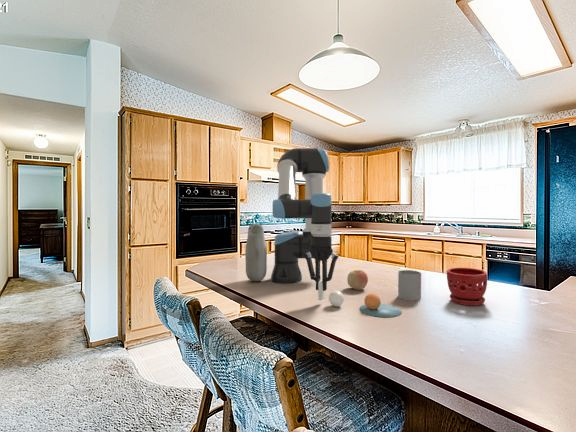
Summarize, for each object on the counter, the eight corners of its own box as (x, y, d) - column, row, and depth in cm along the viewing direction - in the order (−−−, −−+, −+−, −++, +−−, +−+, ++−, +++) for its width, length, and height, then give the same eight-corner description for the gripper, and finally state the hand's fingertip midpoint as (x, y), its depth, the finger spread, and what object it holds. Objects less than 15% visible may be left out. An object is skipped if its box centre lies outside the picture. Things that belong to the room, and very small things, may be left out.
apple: (366, 286, 142) (366, 269, 142) (369, 292, 133) (369, 273, 133) (346, 286, 143) (346, 268, 143) (348, 291, 134) (348, 272, 134)
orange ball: (378, 290, 110) (386, 305, 109) (370, 291, 115) (377, 305, 114) (366, 297, 108) (374, 312, 107) (358, 298, 113) (366, 312, 112)
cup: (422, 301, 120) (423, 275, 120) (400, 300, 122) (400, 274, 122) (418, 295, 129) (418, 270, 128) (397, 293, 130) (397, 269, 130)
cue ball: (344, 290, 113) (348, 305, 112) (338, 288, 118) (341, 302, 118) (330, 294, 111) (334, 309, 111) (324, 292, 117) (328, 307, 116)
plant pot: (450, 295, 128) (451, 265, 128) (489, 301, 120) (489, 269, 119) (442, 303, 118) (443, 271, 117) (483, 310, 109) (484, 275, 109)
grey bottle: (243, 280, 156) (242, 223, 155) (262, 278, 160) (262, 222, 159) (249, 284, 147) (248, 224, 146) (269, 282, 151) (269, 223, 150)
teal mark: (351, 308, 112) (351, 307, 112) (379, 301, 119) (379, 301, 119) (380, 320, 100) (380, 319, 100) (410, 312, 107) (410, 312, 107)
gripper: (301, 235, 115) (301, 300, 116) (336, 236, 110) (336, 303, 111) (307, 234, 122) (307, 294, 123) (340, 235, 117) (340, 298, 118)
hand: (321, 299), depth 117 cm, fingers closed
